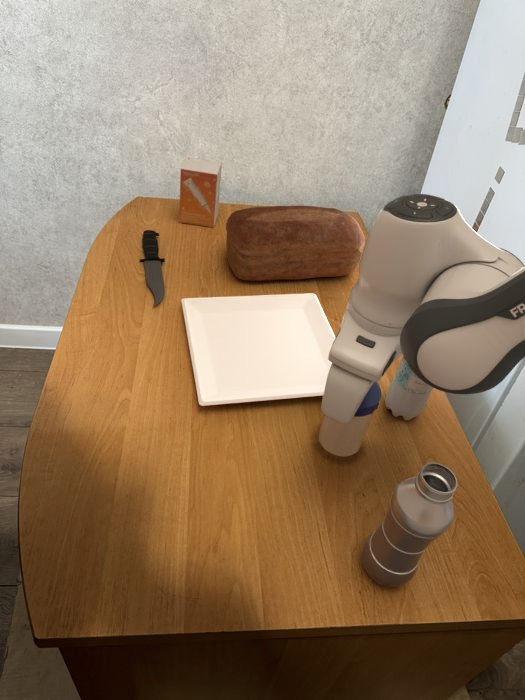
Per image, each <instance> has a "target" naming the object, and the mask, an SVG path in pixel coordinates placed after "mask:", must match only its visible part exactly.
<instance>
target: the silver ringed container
mask: <svg viewBox="0 0 525 700" xmlns="http://www.w3.org/2000/svg"><path fill="white" fill-rule="evenodd" d="M457 487H458V479H457V477H456V474H455V473H454V472H453V471H452V469H450V468H449V467H448V466H446V465H444V464H443V463H439V462H428V463H426V464H424V465H423V466H422V467H421V468H420V470H419V472H418V473H417V474H416V476H414V477H413V476H412V477H409V478H406V479H404V480H403V481H401V482H399V484H397V485H396V486H395V488H394V489H393V491H392V494H391V497H390V500H389V504H388V508H387V511H386V514H385V515H384V518H383V520H382V522H381V524H379V526H378V527H377V529H375V530H374V531H373V532H372V533H371V534H370V535H369V536H368V537H367V538H366V539H365V541H364V543H363V546H362V550H361V563H362V566H363V568H364V570H365V573H367V575H368V577H370V578H371V579H372V580H373V581H374V582H375V583H377V584H379V585H381V586H384V587H387V588H398V587H401V586H403V585H405V584H407V583H408V582H409V581H411V580H412V579H413V578H414V577H415V574H416V572H417V571H418V567H419V563H420V560H421V558H422V557H423V555H424V552H426V550H427V549H428V548H429V547H430V546H431V544H432V543H433V542H434V541H436V540H437V539H438V538H439V537H441V536H442V535H443V534H445V533H446V531H448V529H449V528H451V525H452V524H453V521H454V516H455V505H454V502H453V500H452V499H453V497H454V494H455V492H456V490H457Z"/></svg>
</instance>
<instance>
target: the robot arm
mask: <svg viewBox="0 0 525 700" xmlns="http://www.w3.org/2000/svg"><path fill="white" fill-rule="evenodd" d="M349 294H350V295H349V297H348V300H347V303H346V307H345V311H344V312H343V317H342V319H341V323H340V328H339V330H338V332H337V334H336V335H335V337H336V338H335V340H334V342H333V344H332V347H331V349H330V352H329V355H328V360H329V361H330V362H332V364H331V367H330V370H329V373H328V376H327V380H326V385H325V389H324V394H323V395H322V399H321V407H320V409H321V412H322V414H323V415H324V414H325V415H326V416H327V417H329V418H331V419H333V420H335V421H337V422H340V423H342V424H348V423H349V422H350V421H351V420H352V418H353V416H354V415H355V413H356V411H357V410H358V408H359V406H360V405H361V403H362V401H363V399H364V398H365V396H366V394H367V393H368V391H369V389H370V388H371V386H372V385H373V383H374V382H377V383H379V382H380V381H381V379H382V377H384V375H385V374H386V372H387V370H388V369H389V368H390V366H391V365H392V364H393V363H394V362H395V361H396V360H397V359H398V358H399V357H400V356H401V355H402V357H403V356H404V358H405V360H406V362H407V364H408V365H409V367H410V368H411V370H412V371H413V372H414V373H415V374H416V375H417V376H418V377H419V378H420V379H421V380H422V381H423V382H425V383H426V384H428V385H429V386H431V387H433V389H435V390H438V391H440V392H444V393H447V394H453V395H475V394H481V393H484V392H485V393H486V392H487V391H490V390H492V389H495V388H496V387H497V386H499V384H501V383H502V382H503V381H504V380H505V379H506V378H507V376H508V375H509V374H510V373H511V372H512V371H513V369H514V368H515V367H516V366H517V365H518V364H519V363H520V362H521V361H522V360H523V359H524V358H525V264H524V263H523V262H522V260H521V259H520V258H519V257H517V255H515V254H514V253H512V252H510V251H509V250H508V249H505V248H501V247H499V246H496V245H494V244H493V243H491V242H489V240H487V239H485V238H484V237H483V236H481V235H480V234H479V233H478V232H476V231H475V230H474V229H473V228H472V227H471V226H470V225H469V224H468V223H467V221H466V220H465V218H464V217H463V215H462V213H461V211H460V209H459V208H458V207H457V205H456V204H454V203H453V202H452V201H450V200H448V199H446V198H443V197H441V196H438V195H434V194H428V193H413V194H405V195H401V196H399V197H397V198H395V199H393V200H391V201H389V202H388V203H387V204H385V205H384V206H383V207H382V208H381V209H380V211H379V212H378V213H377V215H376V218H375V220H374V221H373V224H372V226H371V228H370V230H369V233H368V236H367V238H366V240H365V243H364V246H363V249H362V252H361V257H360V261H359V263H358V278H357V281H356V282H355V284H354V285H353V287H352V288H351V291H350V293H349Z"/></svg>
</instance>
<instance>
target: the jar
mask: <svg viewBox="0 0 525 700" xmlns="http://www.w3.org/2000/svg"><path fill="white" fill-rule="evenodd" d="M374 413H375V411H374V412H373V413H372V414H369V415H366V416H353V418H352V420H351V421H350V422H349V423H348V424H342V423H340V422H337V421H335V420H333V419H331V418H329V417H327V416H326V415H325V414H323V416H322V419H321V422H320V427H319V430H318V437H317V438H318V441H319V443H320V446H321V447H322V448H323V449H324V450H325V451H327V452H328V453H330V454H331V455H334V456H337V457H350V456H353V455H355V454H357V452H359V451H360V449H361V447H362V444H363V441H364V440H365V437H366V433H367V431H368V428H369V426H370V423H371V421H372V418H373V415H374Z"/></svg>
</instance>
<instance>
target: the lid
mask: <svg viewBox="0 0 525 700" xmlns="http://www.w3.org/2000/svg"><path fill="white" fill-rule="evenodd" d="M381 400H382V389H381V387H380V385H379V382H374V383H373V385H372V386H371V388H370V389H369V391H368V393H367V394H366V396H365V398H364V399H363V401H362V403H361V405H360V406H359V408H358V410H357V411H356V413H355V415H354V416H366V415H369V414H372V413H373V412H374V413H375V411H376V410H378V407H379V405H380V401H381ZM374 413H373V414H374Z"/></svg>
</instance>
